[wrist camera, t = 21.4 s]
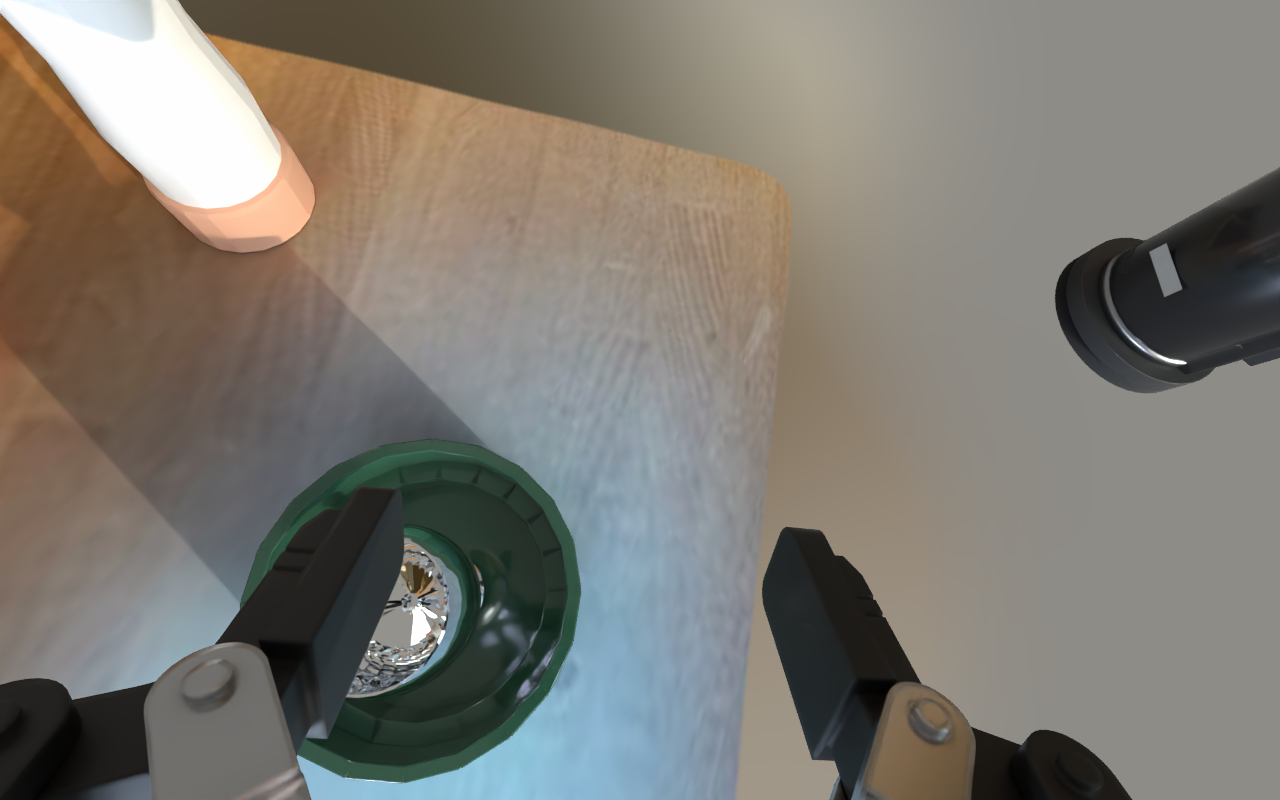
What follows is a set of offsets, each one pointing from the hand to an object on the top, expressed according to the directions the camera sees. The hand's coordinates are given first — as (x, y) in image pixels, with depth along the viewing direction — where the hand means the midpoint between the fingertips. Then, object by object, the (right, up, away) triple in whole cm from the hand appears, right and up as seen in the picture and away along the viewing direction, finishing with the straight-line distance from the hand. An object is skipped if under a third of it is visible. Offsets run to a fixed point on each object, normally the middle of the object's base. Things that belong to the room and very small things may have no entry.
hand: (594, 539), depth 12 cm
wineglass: (-9, -7, +16) cm, 20 cm away
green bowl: (-9, -7, +17) cm, 20 cm away
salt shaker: (-22, +15, +22) cm, 34 cm away
